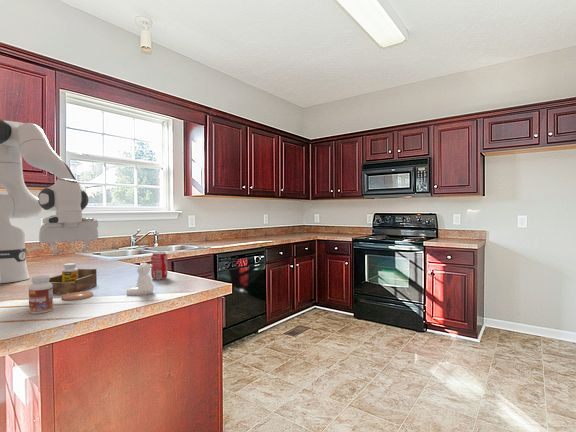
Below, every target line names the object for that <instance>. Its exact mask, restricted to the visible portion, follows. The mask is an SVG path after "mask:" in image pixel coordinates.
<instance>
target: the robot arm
mask: <svg viewBox="0 0 576 432" xmlns="http://www.w3.org/2000/svg"><path fill="white" fill-rule="evenodd" d="M23 160H24V161H25V163H27V164H28V165H30V166H32V167H33V168H35V169H39V170H43V171H46V172H49V173H50V174H53V175H54V176H55V177H57V179H56V181H55V183H54V184H52V185H50V186H48V187H44V188H43V189H41V190H40V192H39V193H38V196H36V195H35V194H33V193H32V192H31V191H30V190H29V188H28V187H27V185H26V183H25V180H24V172H23ZM0 187H1V188H4V189H5V191H6V192H7V194H0V284H6V283H14V282H15V283H16V282H21V281H25V280H28V279H31V277H30V274H29V271H28V266H27V261H26V260H27V259H26V258H27V248H26V243H25V242H26V238H25V237H26V236H25V232H24V231H23V229H22V228H20V227H17V226H14V225H12V223H11V221H10V219H13V220H14V219H30V218H35V217H38V216H39V215H40V213H41V212H42V210H44V211H49V212H53V211H54V212H55V214H54V215H50V216H48V217H45V218H42V223H43V224H42V225H41V226H40V227H39V234H38V241H39V242H40V243H41V244H50V247H51V249H52V250H53V255H59V254H60V248H58V249H57V248H56V247H55V246H56V243H67V242H80V241H81V242H83V243H84V245H83V246H81V247H80V252H81V253H86V252H87V247H88V246H89V244H90V241H96V240H98V239H99V231H98V227H99V221H98V220H97V219H95V218H93V217H89V218H88V217H87V218H83V210H84V209H86V208H87V206H88V204H89V201H90V200H89V196H88V193H87V192H86V191H85V190H84V189H83V188H82V187H81V185H80V182H79V180H77V178H76V177H75V175H74V173H73V172H72V170H71V169H70V167H69V165H68V164H67V163H66V161H65V160H64V159H62V158H61V157H60V156H59V155H58V154H57V153H56V152H55V151H54V150H53V148H52V147H51V144H50V142H49V140H48V137H47V136H46V134H45V131H44V130H43V128H41V127H40V126H39V125H37V124H36V123H31V122H25V123H24V122H20V121H12V120H3V119H0Z"/></svg>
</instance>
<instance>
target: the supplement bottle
mask: <svg viewBox="0 0 576 432" xmlns="http://www.w3.org/2000/svg"><path fill="white" fill-rule="evenodd" d="M63 267H64V268H63V269H62V270H61V275H62V282H75V280H76V279H78V269H79V268H78V267H77V264H76V263H73V262H72V263H71V262H69V263H64V264H63Z"/></svg>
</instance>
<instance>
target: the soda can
mask: <svg viewBox="0 0 576 432" xmlns="http://www.w3.org/2000/svg"><path fill="white" fill-rule="evenodd" d="M150 264H152V267H151V268H150V275H151V276H150V277H151V279H153V280H154V281H160V279H162V280H166V279H167V277H168V256H167V253H166V252H165V251H164V252H163V251H158V252H157V251H156V252H152V255H151V257H150Z"/></svg>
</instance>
